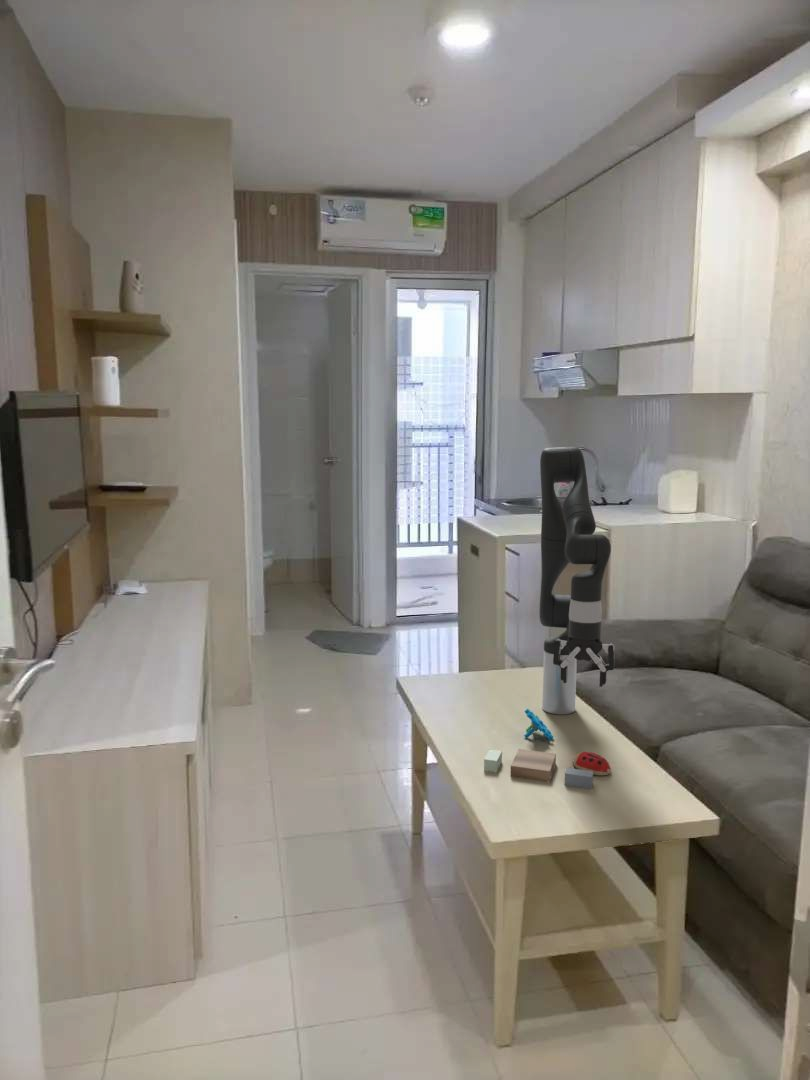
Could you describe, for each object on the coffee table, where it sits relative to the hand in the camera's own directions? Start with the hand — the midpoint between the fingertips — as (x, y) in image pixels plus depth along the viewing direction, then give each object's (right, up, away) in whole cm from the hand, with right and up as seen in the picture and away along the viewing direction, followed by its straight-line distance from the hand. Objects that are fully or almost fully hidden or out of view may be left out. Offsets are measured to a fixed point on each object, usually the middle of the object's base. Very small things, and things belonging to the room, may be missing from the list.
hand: (583, 684), depth 191 cm
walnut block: (-12, -20, -3) cm, 24 cm away
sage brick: (-22, -20, -1) cm, 29 cm away
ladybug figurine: (+1, -20, -2) cm, 20 cm away
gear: (-8, -17, +16) cm, 25 cm away
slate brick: (-3, -21, -10) cm, 24 cm away
